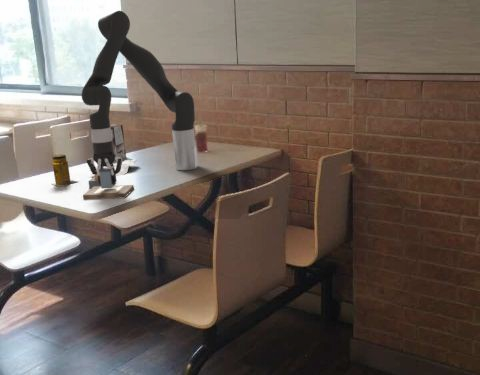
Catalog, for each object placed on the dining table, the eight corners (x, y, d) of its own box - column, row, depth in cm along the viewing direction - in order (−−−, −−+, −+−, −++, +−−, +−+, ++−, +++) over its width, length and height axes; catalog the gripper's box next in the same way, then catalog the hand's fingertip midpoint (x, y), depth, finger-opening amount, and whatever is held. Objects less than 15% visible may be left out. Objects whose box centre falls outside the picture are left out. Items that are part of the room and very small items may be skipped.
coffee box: (127, 157, 290) (123, 124, 286) (117, 160, 285) (113, 126, 281) (113, 156, 295) (109, 124, 291) (104, 159, 290) (99, 126, 285)
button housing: (114, 182, 243) (114, 175, 242) (108, 187, 235) (107, 180, 234) (96, 183, 244) (95, 176, 243) (89, 188, 236) (88, 181, 235)
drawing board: (133, 188, 231) (133, 184, 231) (125, 197, 219) (124, 193, 219) (94, 190, 233) (93, 186, 232) (83, 198, 221) (82, 194, 221)
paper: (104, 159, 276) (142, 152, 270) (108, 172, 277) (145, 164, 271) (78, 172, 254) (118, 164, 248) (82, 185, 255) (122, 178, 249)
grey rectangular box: (114, 185, 227) (112, 167, 225) (111, 188, 223) (109, 169, 221) (104, 185, 228) (102, 167, 226) (101, 188, 224) (99, 170, 222)
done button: (108, 179, 241) (107, 171, 240) (105, 182, 237) (103, 173, 236) (98, 179, 241) (97, 171, 240) (95, 182, 237) (94, 174, 236)
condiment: (51, 184, 246) (47, 156, 243) (68, 179, 253) (64, 152, 249) (61, 186, 242) (57, 158, 239) (79, 181, 248) (75, 153, 245)
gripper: (123, 137, 223) (128, 181, 228) (87, 138, 225) (93, 182, 230) (117, 141, 216) (123, 186, 221) (80, 142, 218) (86, 187, 222)
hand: (107, 184), depth 225 cm, fingers closed on grey rectangular box, 4 cm apart
